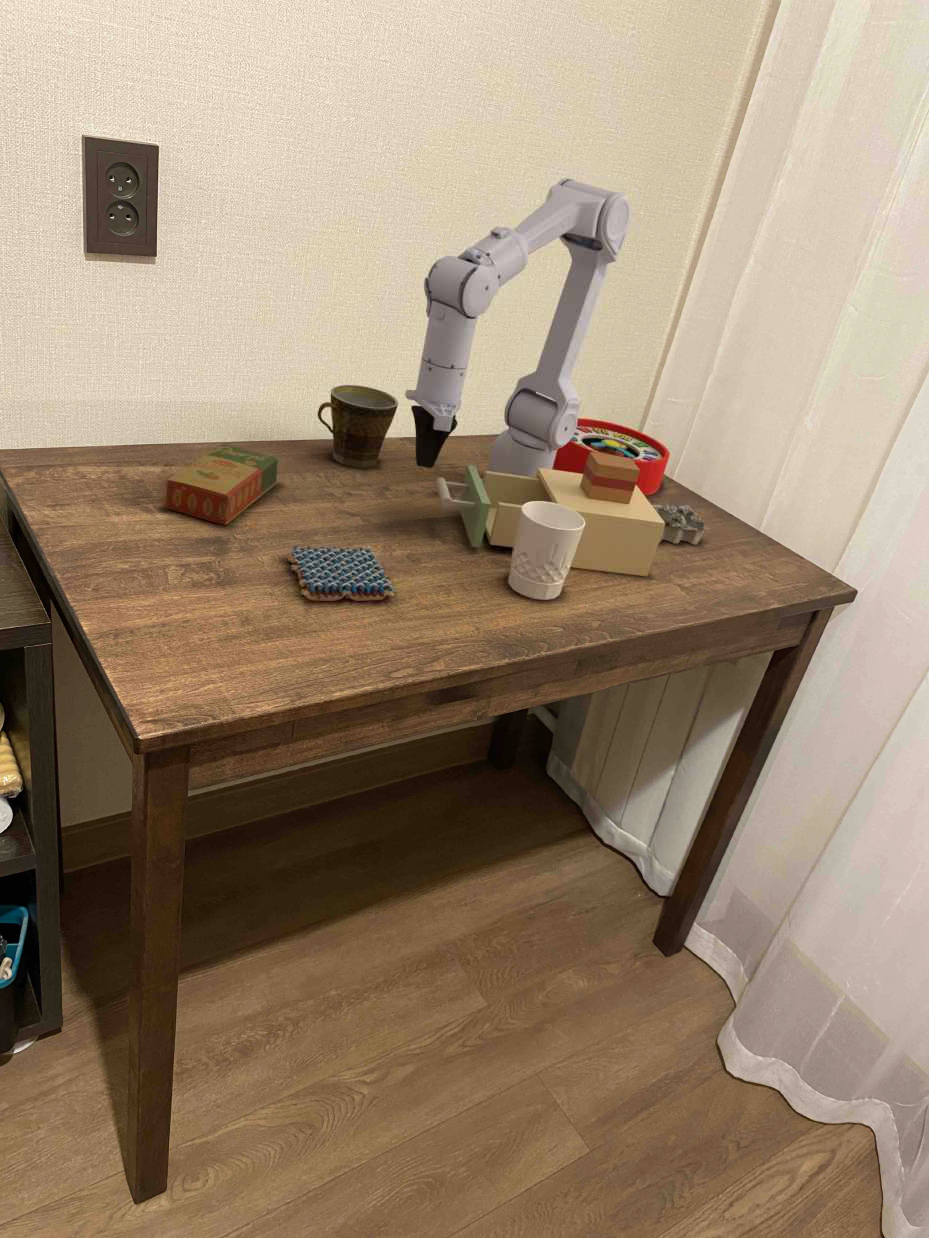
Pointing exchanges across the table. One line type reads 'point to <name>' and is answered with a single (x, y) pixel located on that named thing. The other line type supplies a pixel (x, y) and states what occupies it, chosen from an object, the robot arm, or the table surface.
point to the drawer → (492, 503)
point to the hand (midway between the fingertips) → (424, 465)
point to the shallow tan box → (608, 526)
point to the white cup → (544, 549)
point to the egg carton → (680, 524)
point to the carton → (221, 483)
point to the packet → (609, 478)
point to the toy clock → (614, 451)
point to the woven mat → (340, 574)
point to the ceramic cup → (359, 423)
